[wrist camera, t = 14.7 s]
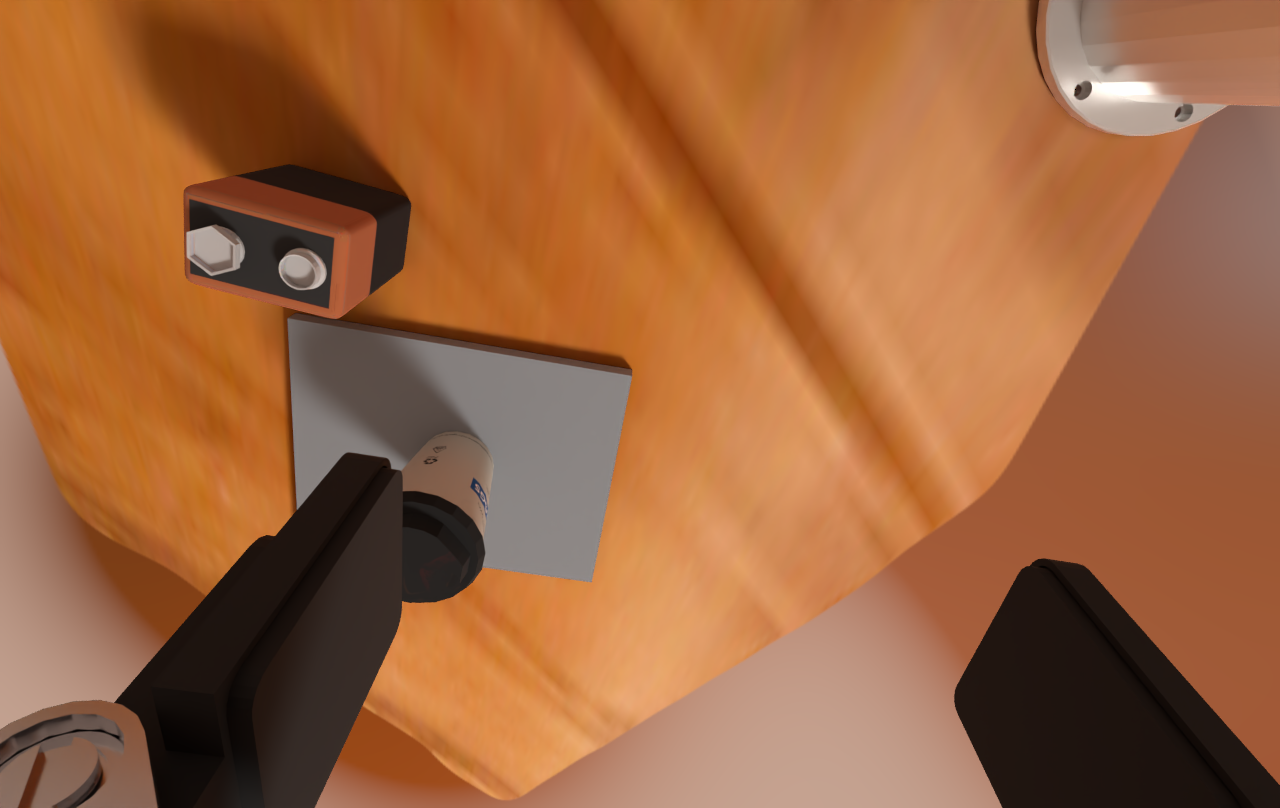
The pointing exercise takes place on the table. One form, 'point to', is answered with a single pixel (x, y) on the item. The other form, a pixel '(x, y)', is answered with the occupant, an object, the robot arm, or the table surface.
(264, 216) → the battery
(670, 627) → the table surface
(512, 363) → the desk mat
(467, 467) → the coffee cup
